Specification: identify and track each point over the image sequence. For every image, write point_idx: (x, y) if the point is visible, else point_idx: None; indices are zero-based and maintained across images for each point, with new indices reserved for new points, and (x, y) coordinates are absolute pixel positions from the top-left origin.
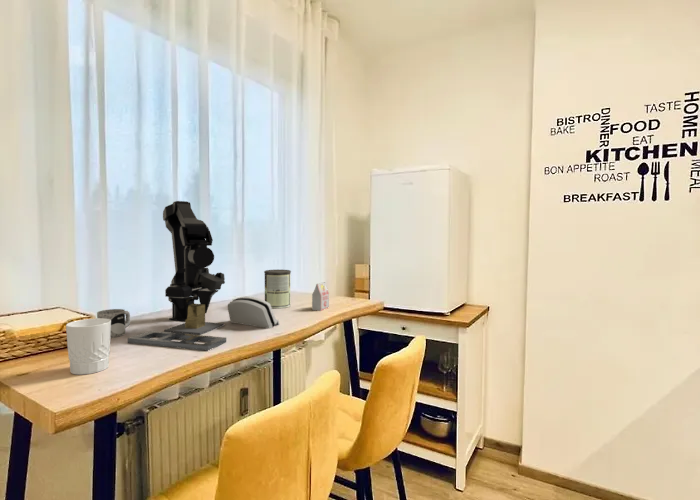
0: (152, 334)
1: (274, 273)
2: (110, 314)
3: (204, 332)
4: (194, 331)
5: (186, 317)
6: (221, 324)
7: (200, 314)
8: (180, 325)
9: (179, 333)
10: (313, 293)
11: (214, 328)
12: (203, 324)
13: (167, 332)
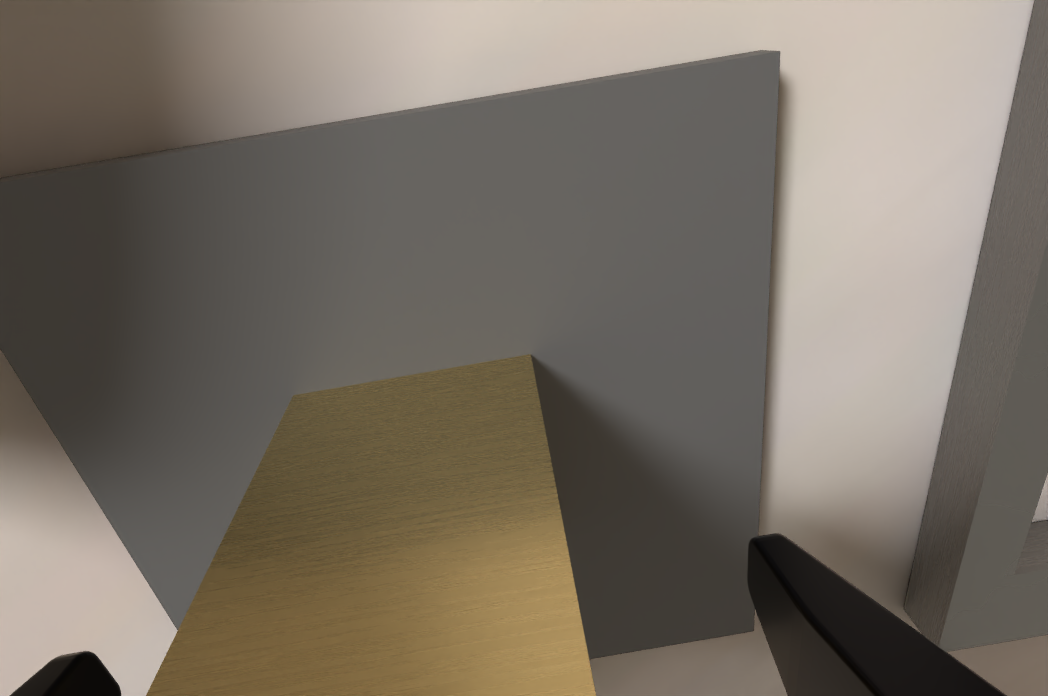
0: (1033, 555)
1: None
2: None
3: (624, 73)
4: (715, 236)
5: (800, 562)
6: (11, 180)
7: (404, 544)
8: None
9: (1042, 262)
10: None
11: (284, 132)
12: (337, 401)
13: (995, 457)
